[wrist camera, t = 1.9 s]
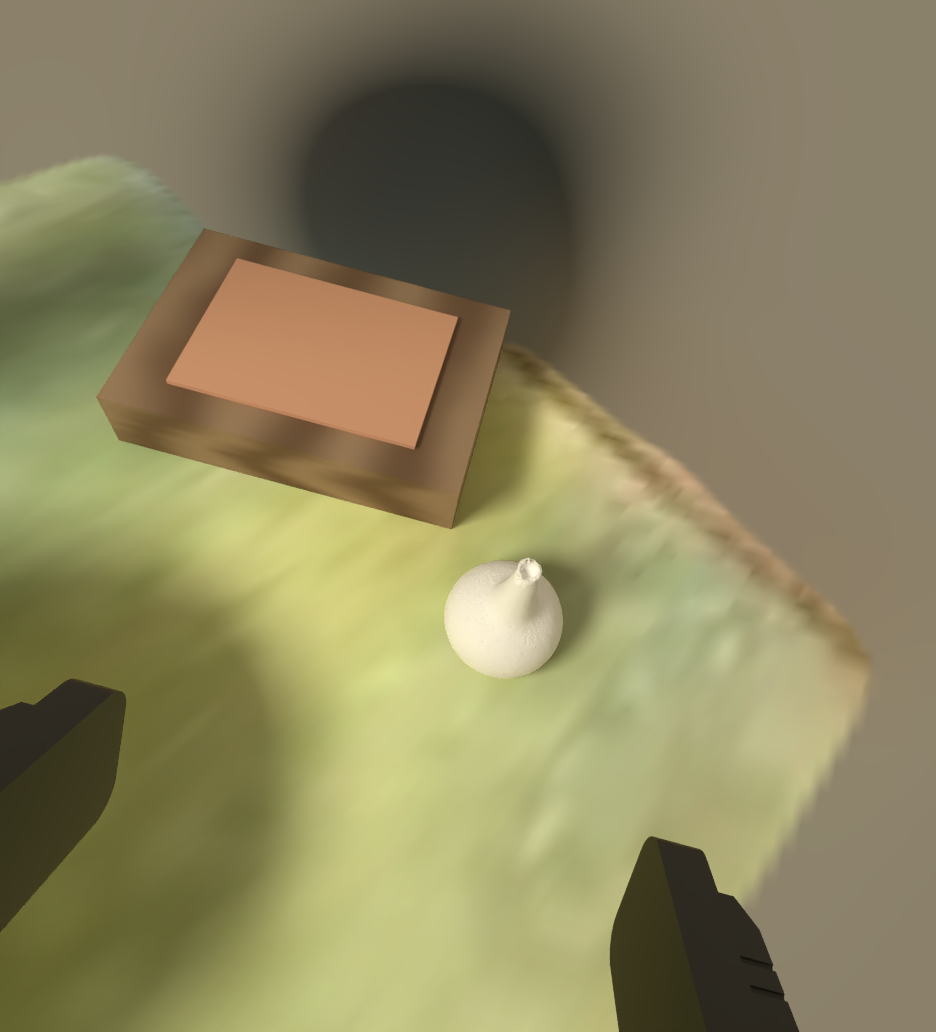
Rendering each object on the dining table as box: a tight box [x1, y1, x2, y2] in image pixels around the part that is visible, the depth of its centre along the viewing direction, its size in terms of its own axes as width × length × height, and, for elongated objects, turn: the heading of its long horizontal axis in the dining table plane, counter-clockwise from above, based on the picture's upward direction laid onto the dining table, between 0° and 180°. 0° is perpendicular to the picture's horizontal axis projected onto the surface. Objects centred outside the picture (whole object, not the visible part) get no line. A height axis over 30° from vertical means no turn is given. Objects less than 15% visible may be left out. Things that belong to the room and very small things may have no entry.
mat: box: [166, 258, 458, 450], centre depth 41 cm, size 14×10×1 cm
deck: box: [97, 229, 511, 529], centre depth 43 cm, size 20×14×4 cm
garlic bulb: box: [444, 558, 563, 679], centre depth 36 cm, size 6×6×8 cm
